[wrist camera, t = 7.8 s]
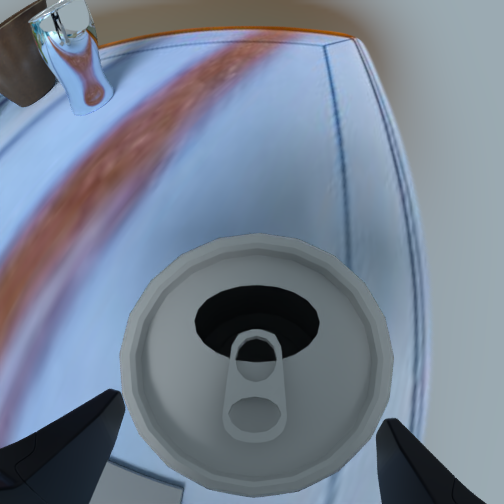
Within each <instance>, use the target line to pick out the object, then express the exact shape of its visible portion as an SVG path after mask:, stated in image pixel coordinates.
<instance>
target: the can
mask: <svg viewBox="0 0 504 504" xmlns="http://www.w3.org/2000/svg"><path fill="white" fill-rule="evenodd" d="M393 362H394V356H393V351H392V346H391V341H390V337H389V332H388V328H387V324H386V319H385V317H384V315H383V313H382V311H381V310H380V308H379V306H378V305H377V303H376V301H375V299H374V298H373V296H372V294H371V293H370V291H369V289H368V288H367V286H366V284H365V283H364V282H363V281H362V280H361V279H360V278H359V277H358V276H357V275H355V274H354V273H353V272H352V271H351V270H350V269H349V268H348V267H346V266H345V265H344V264H343V263H342V262H341V261H340V260H339V259H337V258H336V257H335V256H334V255H332V254H330V253H327V252H325V251H323V250H321V249H319V248H317V247H315V246H312V245H310V244H308V243H306V242H304V241H302V240H299V239H296V238H289V237H283V236H276V235H269V234H262V233H253V234H246V235H238V236H231V237H223V238H218V239H215V240H213V241H211V242H208V243H206V244H204V245H202V246H199V247H197V248H195V249H193V250H190V251H188V252H186V253H184V254H182V255H180V256H179V257H178V258H177V259H176V260H174V261H173V262H172V263H171V264H170V265H169V266H167V267H166V268H165V269H164V270H163V271H161V272H160V273H159V274H158V275H157V276H156V277H155V278H153V279H152V280H151V281H150V283H149V284H148V286H147V288H146V289H145V291H144V292H143V294H142V295H141V297H140V299H139V300H138V302H137V303H136V305H135V307H134V308H133V310H132V311H131V313H130V315H129V319H128V322H127V326H126V330H125V334H124V338H123V342H122V346H121V350H120V371H121V384H122V395H123V398H124V400H125V403H126V405H127V408H128V410H129V412H130V415H131V417H132V419H133V422H134V424H135V426H136V429H137V431H138V433H139V435H140V436H141V437H142V438H143V439H144V441H145V442H146V443H147V444H148V445H149V446H150V447H151V449H152V450H153V451H154V452H155V453H156V454H157V455H158V456H159V457H160V459H161V460H162V461H163V462H164V463H165V464H166V465H167V466H168V467H170V468H171V469H173V470H174V471H176V472H178V473H180V474H181V475H183V476H185V477H187V478H188V479H190V480H192V481H194V482H196V483H197V484H199V485H201V486H203V487H205V488H207V489H209V490H214V491H218V492H223V493H228V494H234V495H240V496H246V497H252V498H255V497H264V496H272V495H279V494H286V493H292V492H298V491H300V490H302V489H305V488H307V487H309V486H311V485H313V484H315V483H317V482H319V481H321V480H323V479H325V478H327V477H329V476H331V475H333V474H334V473H336V472H338V471H339V470H340V469H341V468H342V467H343V466H344V465H345V464H346V463H348V462H349V461H350V460H351V459H352V458H353V457H354V456H355V455H356V454H357V452H358V451H359V450H360V449H361V448H362V447H363V446H364V445H365V444H366V443H367V442H368V441H369V440H370V439H371V437H372V435H373V433H374V431H375V429H376V427H377V425H378V423H379V421H380V418H381V416H382V414H383V412H384V410H385V408H386V405H387V403H388V401H389V397H390V389H391V381H392V372H393Z"/></svg>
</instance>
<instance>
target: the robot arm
mask: <svg viewBox="0 0 504 504" xmlns="http://www.w3.org/2000/svg"><path fill="white" fill-rule="evenodd" d="M124 413H125V404H124V401H123V398H122V394H121V392H120V391H117V390H114V389H108V390H106V391H104V392H103V393H101V394H99V395H98V396H96V397H94V398H93V399H91V400H89V401H88V402H86V403H84V404H83V405H81V406H79V407H78V408H76V409H74V410H73V411H71V412H69V413H68V414H66V415H64V416H63V417H61V418H59V419H57V420H56V421H54V422H52V423H50V424H49V425H47V426H45V427H44V428H42V429H40V430H38V431H37V432H35V433H33V434H31V435H29V436H27V437H25V438H23V439H22V440H20V441H17V442H15V443H13V444H11V445H8V446H6V447H3V448H1V449H0V504H89V503H90V501H91V498H92V496H93V493H94V491H95V489H96V486H97V484H98V482H99V479H100V477H101V475H102V472H103V470H104V468H105V466H106V463H107V461H108V459H109V456H110V454H111V452H112V450H113V447H114V445H115V442H116V439H117V435H118V432H119V429H120V426H121V423H122V419H123V416H124ZM376 447H377V471H378V480H379V487H380V494H381V502H382V504H486V503H485V502H483V501H482V500H481V499H479V498H478V497H477V496H476V495H474V494H473V493H472V492H471V491H470V490H468V489H467V488H466V487H465V486H464V485H463V484H462V483H461V482H460V481H459V480H458V479H457V478H455V476H454V475H452V473H451V472H450V471H449V470H447V468H446V467H445V466H444V465H443V464H442V463H441V462H440V461H439V460H438V459H436V457H435V456H434V455H433V454H432V453H431V452H430V451H429V450H428V449H427V448H426V447H425V446H424V445H423V444H422V443H421V442H420V441H419V440H418V439H417V438H416V437H415V436H414V435H413V434H412V433H411V432H410V431H409V430H408V429H407V428H406V427H405V426H404V425H403V424H402V423H401V422H400V421H399V420H398V419H396V418H387V419H385V420H384V421H383V423H382V425H381V426H380V428H379V430H378V432H377V434H376Z"/></svg>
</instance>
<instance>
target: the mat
mask: <svg viewBox="0 0 504 504" xmlns="http://www.w3.org/2000/svg"><path fill="white" fill-rule="evenodd" d="M183 490H184V488H181V487H178V486H175V485H172V484H168V483H165V482H162V481H159V480H157V479H154V478H151V477H148V476H145V475H143V474H140V473H138V472H135V471H133V470H130V469H128V468H125V467H123V466H120V465H118V464H116V463H114V462H111V461H109V460H108V461H107V463H106V466H105V468H104V470H103V472H102V475H101V477H100V479H99V482H98V484H97V486H96V489H95V491H94V493H93V496H92V498H91V501H90V503H89V504H181V499H182V495H183Z"/></svg>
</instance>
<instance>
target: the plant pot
mask: <svg viewBox="0 0 504 504" xmlns="http://www.w3.org/2000/svg"><path fill="white" fill-rule="evenodd" d="M46 8H47V5H46V0H37V1H35V2H33V3H32V4H30V5H28V6H27V7H25V8H23V9H22V10H20V11H19V12H17V13H15V14H14V15H12V16H11V17H9V18H8V19H6V20H5V21H4V22H2V23H1V24H0V93H1V94H2V95H4V96H5V97H7V98H8V99H10V100H11V101H13V102H14V103H16V104H17V105H19V106H21V107H26V106H29V105H31V104H33V103H34V102H36V101H37V100H39V99H40V98H41V97H43V96H44V95H45V94H46V93H47V92H48V91H49V90H50V89H51V88H52V87H53V85H54V84H55V76H54V75H53V73H52V72H51V71H50V70H49V68H48V67H47V65H46V64H45V62H44V61H43V59H42V58H41V56H40V54H39V52H38V50H37V47H36V45H35V42H34V39H33V36H32V33H31V29H30V26H29V23H28V21H29V20H30V19H31V18H33V17H34V16H35V15H37V14H38V13H40V12H41V11H43V10H45V9H46Z"/></svg>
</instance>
